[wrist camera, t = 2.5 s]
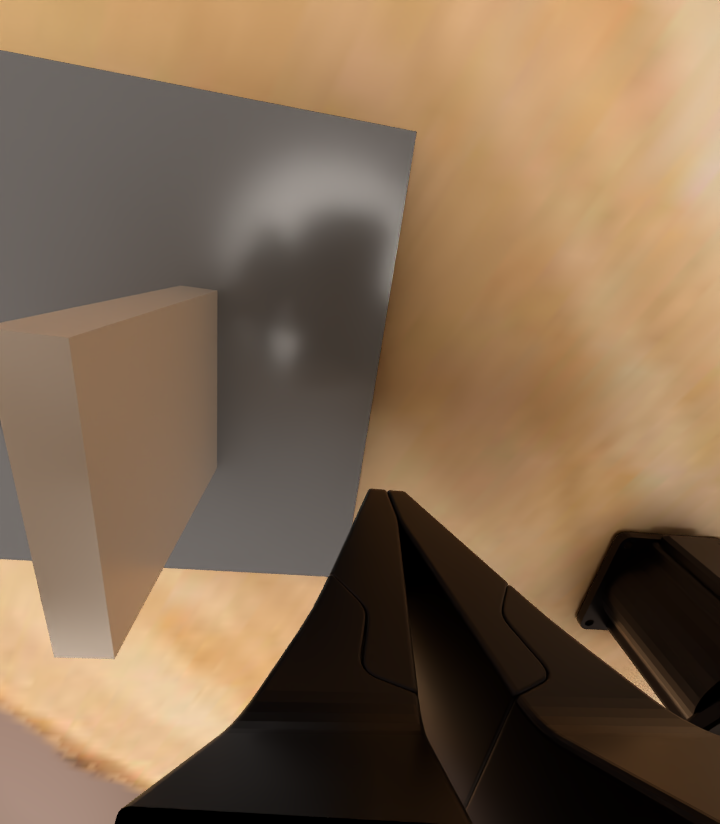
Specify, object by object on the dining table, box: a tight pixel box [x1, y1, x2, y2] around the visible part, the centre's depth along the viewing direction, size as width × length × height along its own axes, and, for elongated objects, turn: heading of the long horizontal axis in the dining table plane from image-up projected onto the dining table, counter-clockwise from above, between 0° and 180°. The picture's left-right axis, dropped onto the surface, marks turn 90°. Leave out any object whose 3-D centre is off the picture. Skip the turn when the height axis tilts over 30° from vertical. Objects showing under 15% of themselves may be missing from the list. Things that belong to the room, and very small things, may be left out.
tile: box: [0, 286, 217, 659], centre depth 11 cm, size 7×1×8 cm, turn 172°
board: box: [0, 50, 416, 577], centre depth 15 cm, size 18×16×1 cm
